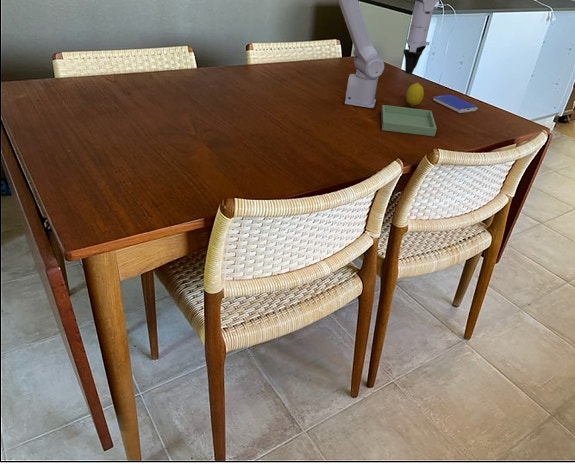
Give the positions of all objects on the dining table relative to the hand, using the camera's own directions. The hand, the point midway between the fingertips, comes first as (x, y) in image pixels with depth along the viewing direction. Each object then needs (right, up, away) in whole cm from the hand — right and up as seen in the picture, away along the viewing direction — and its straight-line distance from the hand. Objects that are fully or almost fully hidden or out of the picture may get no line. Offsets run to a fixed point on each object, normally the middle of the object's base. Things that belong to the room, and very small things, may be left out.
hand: (410, 70), depth 153 cm
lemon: (+1, -11, +2) cm, 12 cm away
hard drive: (+17, -10, +6) cm, 20 cm away
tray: (-4, -20, -11) cm, 23 cm away
